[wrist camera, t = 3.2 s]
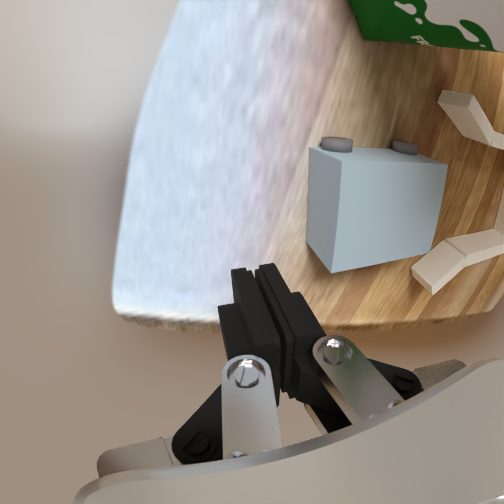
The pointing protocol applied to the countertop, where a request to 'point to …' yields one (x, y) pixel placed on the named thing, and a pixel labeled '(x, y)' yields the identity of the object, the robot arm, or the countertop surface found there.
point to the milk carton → (433, 22)
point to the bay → (475, 244)
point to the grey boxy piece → (371, 203)
